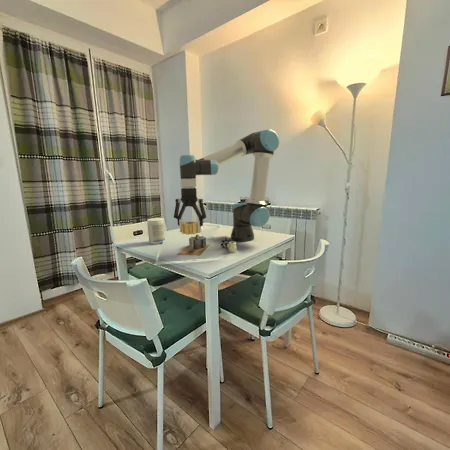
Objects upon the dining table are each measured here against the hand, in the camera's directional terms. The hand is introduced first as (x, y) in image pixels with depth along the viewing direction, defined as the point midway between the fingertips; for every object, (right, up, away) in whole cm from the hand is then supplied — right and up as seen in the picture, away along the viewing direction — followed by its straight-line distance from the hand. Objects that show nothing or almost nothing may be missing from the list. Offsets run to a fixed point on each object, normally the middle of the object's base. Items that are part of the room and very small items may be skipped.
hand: (190, 232), depth 128 cm
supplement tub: (-25, -8, +28) cm, 38 cm away
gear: (+2, -8, +12) cm, 15 cm away
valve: (+20, -11, +5) cm, 24 cm away
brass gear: (0, 0, 0) cm, 0 cm away
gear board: (+1, -11, +7) cm, 13 cm away
